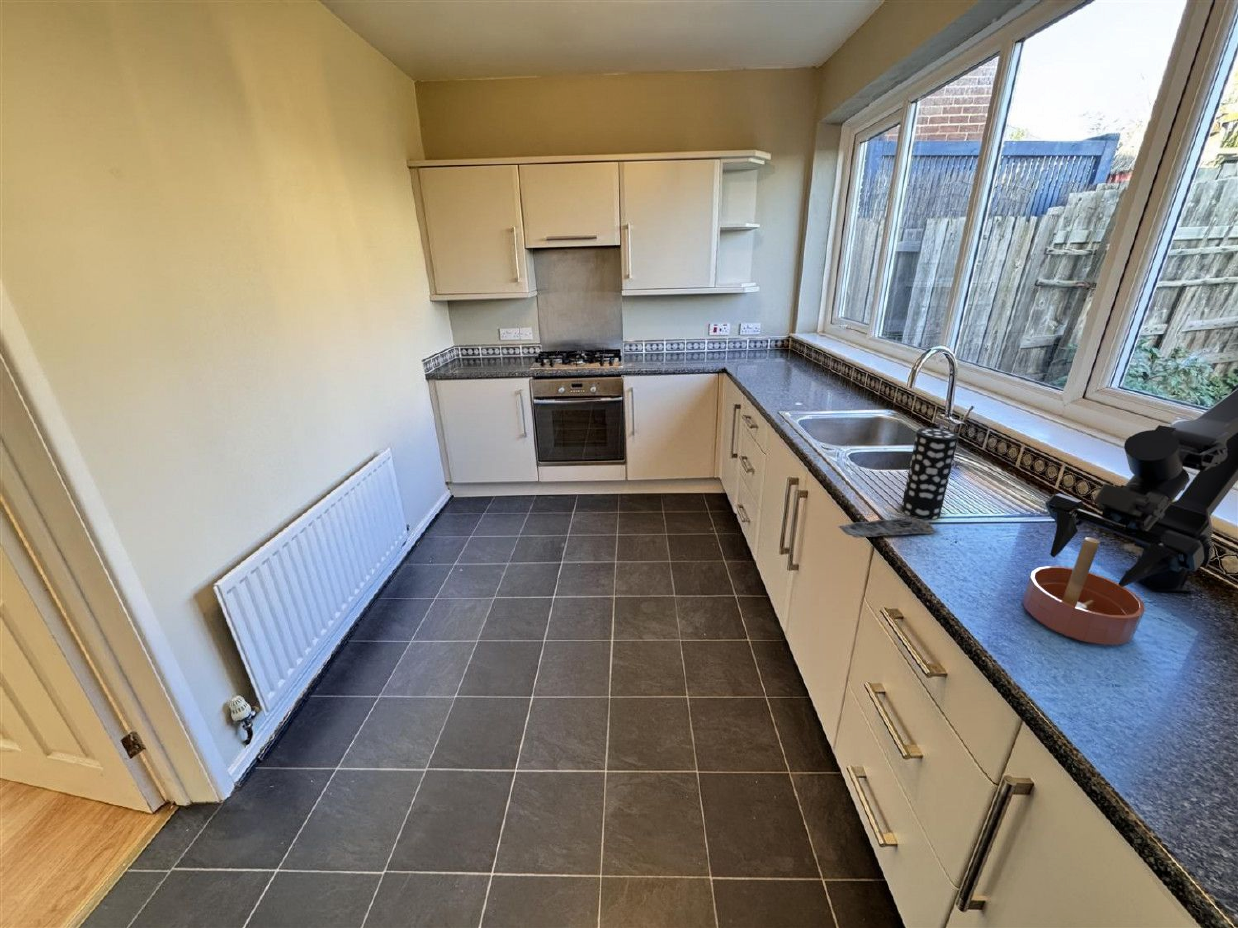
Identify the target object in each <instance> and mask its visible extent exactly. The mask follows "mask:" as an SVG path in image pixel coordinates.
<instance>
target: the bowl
mask: <svg viewBox="0 0 1238 928" xmlns="http://www.w3.org/2000/svg"><path fill="white" fill-rule="evenodd" d="M1073 569H1074V567H1068V566H1060V565H1045V566H1039V567H1036V568H1035V569H1034V570H1032V571H1031V572H1030V575H1029V578H1028V581H1027V583H1026V587H1025V590H1024V593H1023V595H1022V596H1023V597H1022V601H1021V603H1022V605H1023V607H1024V608H1025V610H1026V611H1027V612H1028V613H1029V614H1030V615H1031V616H1032V617H1033V618H1034V619H1036V621H1038V622H1040V623H1041V624H1042V625H1044V627H1046V628H1048V629H1050V630H1052V631H1054V632H1056V633H1058V634H1061V635H1062V636H1065V637H1067V638H1071V639H1073V640H1076V641H1079V642H1084V643H1089V644H1094V645H1103V646H1104V645H1107V646H1110V645H1111V646H1118V645H1122V644H1127V643H1129V642H1130V641H1131V640H1132V639H1133V638H1134V637H1135V634H1136V632H1137V630H1138V628H1139V625H1140V623H1141V621H1142V618H1143V616H1144V613H1145V612H1146V607H1145V603H1144V602H1143V600H1141V598H1140V597H1139V596H1138V595H1137V594H1136V593H1134V592H1133V591H1131V590H1130V589H1129V588H1127V587H1126V586H1124V587H1121V586H1119V582H1115V581H1114V580H1112V579H1110V578H1107V577H1104V576H1102V575H1099V574H1097V573H1094V572H1090V571H1089V573H1088V575H1087V578H1086V581H1085V583H1084V586H1083V589H1082V591H1081V594H1080V596H1079V599H1078V602H1080V603H1085V602H1087V601H1089V600H1093V601H1094V603H1093V606H1092V607H1090V608H1089V609H1087V610H1085V609H1082V608H1079V607H1075V606H1073V605H1071V604H1068V603H1066V602H1064V601H1062V599H1063V596H1064V593H1065V591H1066V588H1067V585H1068V582H1069V580H1070V577H1071V574H1072V572H1073Z"/></svg>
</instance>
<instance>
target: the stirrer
mask: <svg viewBox="0 0 1238 928" xmlns="http://www.w3.org/2000/svg"><path fill="white" fill-rule="evenodd" d="M1100 543H1101V541H1100V540H1099V539H1097V538H1094V537H1089V536H1086V537H1084V539H1083V541H1082V545H1081V547H1080V550H1079V553H1078V555H1077V558H1076V561H1075V562H1074V563H1075V564H1074V566H1073V568H1074V569H1073V572H1072V574H1071V577H1070V580H1069V582H1068V585H1067V588H1066V591H1065V593H1064V596H1063V599H1062V601H1064V602H1066V603H1068V604H1071V605H1073V606H1075V607H1079V608H1082V609H1085V610H1087V609H1089V608H1090V607H1092V606H1093V603H1094V601H1093V600H1089V601H1087V602H1085V603H1080V602H1078V599H1079V596H1080V594H1081V591H1082V589H1083V586H1084V583H1085V581H1086V578H1087V575H1088V573H1089V572H1090V571H1091V567H1092V565H1093V562H1094V560H1095V557H1096V554H1097V551H1098V549H1099V547H1100Z"/></svg>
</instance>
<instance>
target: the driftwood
mask: <svg viewBox="0 0 1238 928" xmlns="http://www.w3.org/2000/svg"><path fill="white" fill-rule="evenodd" d="M838 528H839V529H840V530H841V531H842V532H843V533H844V534H845V535H847V536H851V537H853V538H855V539H860V538H872V537H882V536H896V535H897V536H898V535H899V536H901V535H913V534H915V535H916V534H924V535H925V534H928V535H929V534H931V535H932V534H936V533H937V531H936V529H934V527H933V525H931V523H929V522H928V521H925V520H924V519H920V518H917V517H904V518H903V517H901V518H891V519H877V520H871V521H863V522H862V521H856V522H852V523H849V524H844V525H843V524H842V525H839V526H838Z"/></svg>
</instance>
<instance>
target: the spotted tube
mask: <svg viewBox="0 0 1238 928" xmlns="http://www.w3.org/2000/svg"><path fill="white" fill-rule="evenodd" d="M959 439H960V434H958V433H956V432H954V431H952V430H949V429H944V428H936V427H923V428H922V427H921V428H918V429H917V430H916V433H915V439H914V444H913V449H912V453H911V457H910V463H909V468H908V473H907V477H906V482H905V487H904V492H903V496H902V502H901V507H900V509H901V511H902V512H903V513H904V514H906V515H908V516H911V517H912V518H916V519H921V520H936V519H938V518H940V516H941V513H942V509H943V504H944V502H945V496H946V492H947V489H948V488H947V487H948V484H949V480H950V476H951V472H952V468H953V463H954V459H955V455H956V451H957V447H958V443H959Z"/></svg>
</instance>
